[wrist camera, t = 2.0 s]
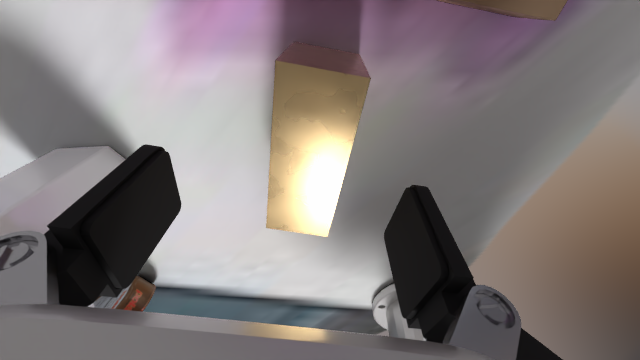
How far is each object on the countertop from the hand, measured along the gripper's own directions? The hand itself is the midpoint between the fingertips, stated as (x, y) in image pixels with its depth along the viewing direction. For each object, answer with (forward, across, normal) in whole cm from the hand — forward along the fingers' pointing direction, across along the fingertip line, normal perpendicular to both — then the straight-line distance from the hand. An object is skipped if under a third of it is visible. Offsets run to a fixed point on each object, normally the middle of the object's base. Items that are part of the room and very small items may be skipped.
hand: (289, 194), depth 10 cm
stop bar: (+9, -1, +1) cm, 9 cm away
